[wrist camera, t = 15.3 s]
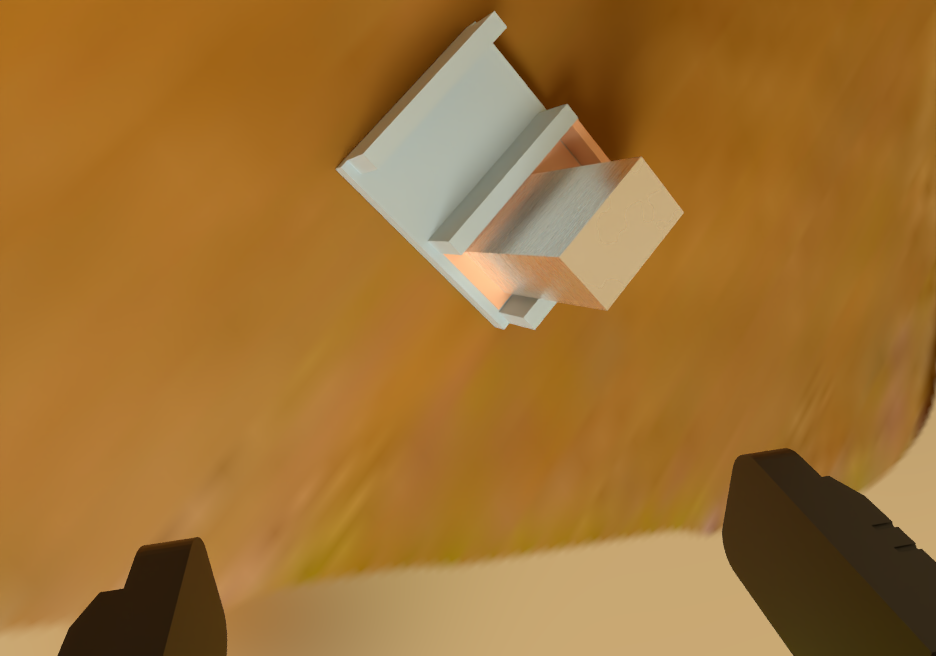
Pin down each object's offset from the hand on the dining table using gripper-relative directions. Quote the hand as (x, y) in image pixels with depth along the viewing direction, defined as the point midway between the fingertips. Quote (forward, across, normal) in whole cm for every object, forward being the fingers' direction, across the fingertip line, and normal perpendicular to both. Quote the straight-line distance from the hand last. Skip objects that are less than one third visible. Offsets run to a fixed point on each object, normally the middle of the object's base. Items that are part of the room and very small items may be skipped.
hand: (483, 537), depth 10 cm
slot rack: (+30, -6, +2) cm, 31 cm away
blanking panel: (+28, -8, +5) cm, 30 cm away
